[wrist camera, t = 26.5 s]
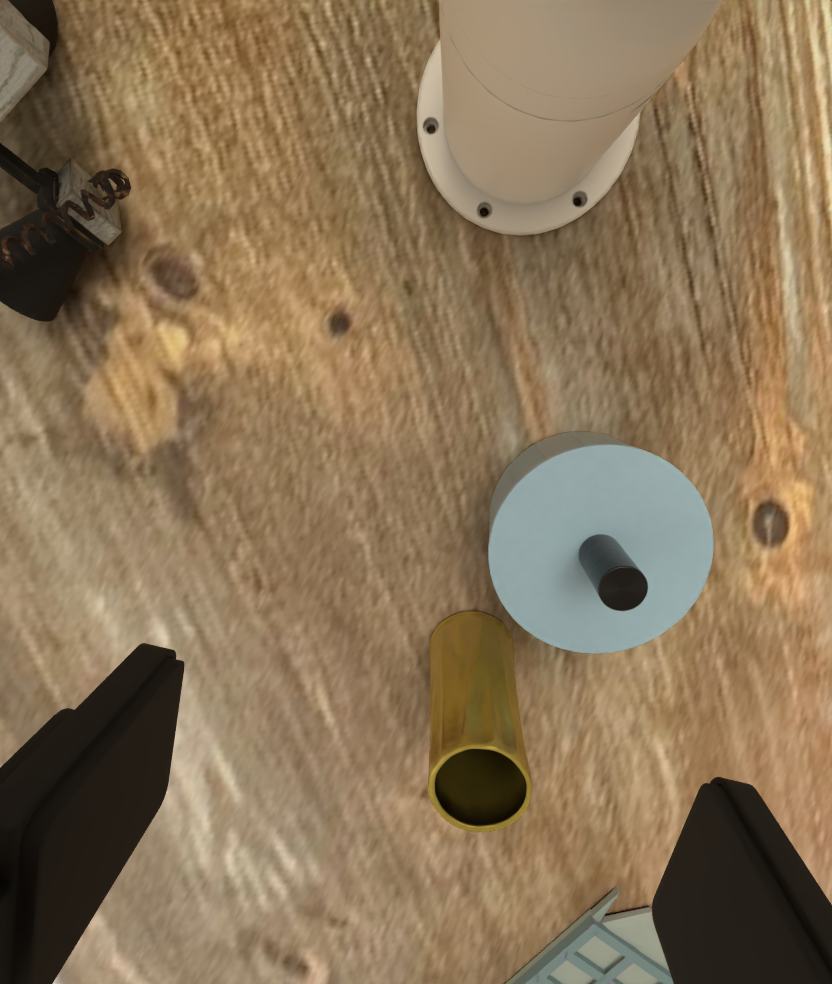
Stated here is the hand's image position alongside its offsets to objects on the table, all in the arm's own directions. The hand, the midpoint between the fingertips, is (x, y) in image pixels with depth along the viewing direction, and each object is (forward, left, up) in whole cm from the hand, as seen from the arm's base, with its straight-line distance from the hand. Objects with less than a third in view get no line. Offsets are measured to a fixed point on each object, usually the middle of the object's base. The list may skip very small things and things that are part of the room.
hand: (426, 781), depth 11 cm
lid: (0, +10, -25) cm, 27 cm away
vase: (+12, +8, -32) cm, 35 cm away
